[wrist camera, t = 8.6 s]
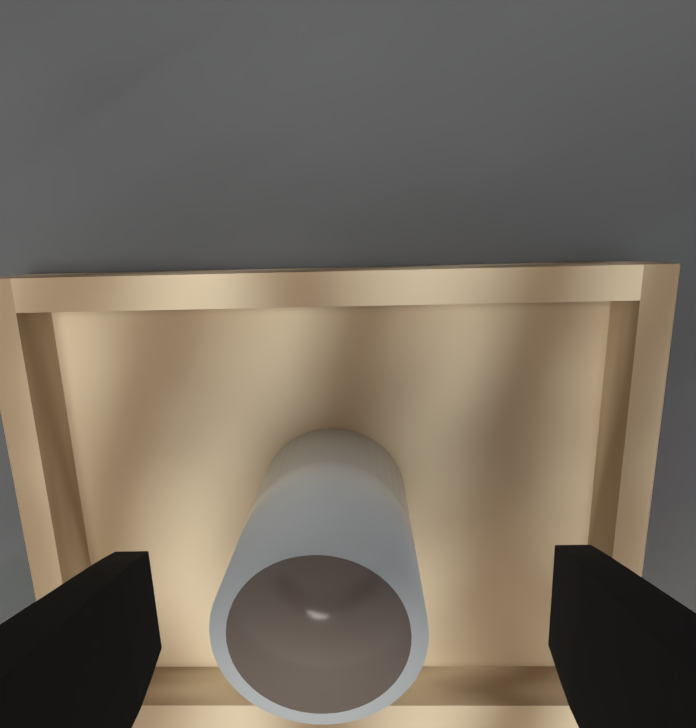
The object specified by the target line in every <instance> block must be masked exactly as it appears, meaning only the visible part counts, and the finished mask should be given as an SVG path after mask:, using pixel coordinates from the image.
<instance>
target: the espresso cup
mask: <svg viewBox="0 0 696 728" xmlns="http://www.w3.org/2000/svg"><path fill="white" fill-rule="evenodd" d="M209 635H210V643H211V647H212V651H213V654H214V657H215V659H216V662H217V664H218V666H219V668H220V670H221V671H222V673H223V675H224V676H225V677H226V679H227V680H228V681H229V683H230V684H231V685H232V686H233V687H234V688H235V689H236V690H237V691H238V692H239V693H240V694H241V695H242V696H243V697H244V698H246V699H247V700H248V701H250V702H251V703H252V704H254V705H256V706H257V707H259V708H261V709H262V710H264V711H266V712H269V713H271V714H273V715H275V716H278V717H281V718H284V719H287V720H291V721H295V722H299V723H307V724H321V725H329V724H340V723H346V722H351V721H355V720H359V719H362V718H365V717H368V716H370V715H372V714H375V713H377V712H379V711H381V710H382V709H384V708H386V707H387V706H389V705H391V704H392V703H393V702H394V701H396V700H397V699H398V698H400V697H401V696H402V695H403V694H404V693H405V692H406V691H407V690H408V689H409V687H410V686H411V685H412V683H413V682H414V681H415V679H416V678H417V676H418V674H419V672H420V671H421V669H422V667H423V664H424V661H425V658H426V655H427V650H428V645H429V627H428V619H427V613H426V607H425V601H424V596H423V590H422V584H421V578H420V572H419V567H418V561H417V555H416V549H415V544H414V538H413V532H412V526H411V521H410V515H409V509H408V503H407V497H406V492H405V486H404V481H403V478H402V474H401V472H400V470H399V467H398V466H397V464H396V462H395V461H394V459H393V458H392V457H391V456H390V454H389V453H388V452H387V451H386V450H385V449H384V448H383V447H382V446H380V445H379V444H378V443H376V442H375V441H374V440H372V439H370V438H368V437H366V436H364V435H361V434H359V433H356V432H352V431H348V430H342V429H323V430H317V431H313V432H309V433H306V434H304V435H301V436H299V437H297V438H295V439H294V440H292V441H291V442H289V443H288V444H286V445H285V446H284V447H283V448H282V449H281V450H280V451H279V452H278V453H277V454H276V456H275V457H274V458H273V460H272V461H271V463H270V465H269V467H268V469H267V472H266V474H265V476H264V479H263V481H262V484H261V486H260V489H259V491H258V494H257V496H256V499H255V501H254V504H253V506H252V509H251V511H250V514H249V516H248V518H247V521H246V523H245V526H244V528H243V531H242V533H241V536H240V538H239V541H238V543H237V546H236V548H235V551H234V553H233V555H232V558H231V560H230V563H229V565H228V568H227V570H226V573H225V575H224V578H223V580H222V583H221V585H220V588H219V590H218V593H217V595H216V598H215V600H214V602H213V605H212V609H211V614H210V621H209Z"/></svg>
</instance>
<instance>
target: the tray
mask: <svg viewBox="0 0 696 728" xmlns="http://www.w3.org/2000/svg"><path fill="white" fill-rule="evenodd" d="M679 272H680V264H676V263H661V262H645V261H602V262H556V263H511V264H466V265H420V266H375V267H330V268H285V269H239V270H194V271H149V272H104V273H58V274H26V275H15V276H5V277H0V410H1V416H2V421H3V426H4V432H5V437H6V442H7V448H8V453H9V458H10V464H11V469H12V474H13V480H14V485H15V490H16V496H17V501H18V506H19V512H20V517H21V522H22V528H23V533H24V538H25V544H26V549H27V554H28V560H29V565H30V570H31V576H32V581H33V586H34V592H35V597H36V601H37V600H39V599H40V598H42V597H44V596H45V595H47V594H48V593H50V592H51V591H53V590H54V589H56V588H57V587H59V586H60V585H62V584H63V583H65V582H66V581H68V580H69V579H71V578H72V577H74V576H76V575H77V574H79V573H80V572H82V571H83V570H85V569H86V568H88V567H90V566H91V565H93V564H94V563H96V562H98V561H99V560H101V559H103V558H104V557H106V556H108V555H110V554H112V553H114V552H122V551H148V552H149V559H150V566H151V574H152V581H153V588H154V595H155V602H156V610H157V617H158V624H159V631H160V638H161V646H162V649H161V652H160V655H159V658H158V661H157V664H156V667H155V670H154V673H153V676H152V679H151V682H150V685H149V687H148V690H147V693H146V696H145V698H144V701H143V704H142V706H141V709H140V711H139V713H138V716H137V718H136V720H135V722H134V724H133V726H132V728H579V727H578V725H577V723H576V720H575V718H574V716H573V714H572V712H571V709H570V707H569V704H568V702H567V699H566V696H565V693H564V690H563V688H562V685H561V682H560V679H559V676H558V673H557V670H556V667H555V664H554V661H553V658H552V655H551V652H550V649H549V646H548V640H549V625H550V610H551V596H552V581H553V566H554V551H555V545H592V546H594V547H595V548H597V549H599V550H600V551H602V552H604V553H605V554H607V555H609V556H610V557H612V558H613V559H615V560H616V561H618V562H619V563H621V564H622V565H624V566H625V567H627V568H628V569H630V570H631V571H633V572H634V573H636V574H637V575H639V576H640V577H642V570H643V562H644V554H645V546H646V538H647V530H648V522H649V514H650V506H651V498H652V490H653V482H654V474H655V466H656V458H657V450H658V441H659V433H660V425H661V417H662V409H663V401H664V393H665V385H666V377H667V369H668V361H669V353H670V345H671V337H672V329H673V321H674V313H675V305H676V296H677V288H678V280H679ZM323 429H342V430H348V431H352V432H356V433H359V434H361V435H364V436H366V437H368V438H370V439H372V440H374V441H375V442H376V443H378V444H379V445H380V446H382V447H383V448H384V449H385V450H386V451H387V452H388V453H389V454H390V456H391V457H392V458H393V459H394V461H395V462H396V464H397V466H398V467H399V470H400V472H401V474H402V478H403V481H404V486H405V492H406V497H407V503H408V509H409V515H410V521H411V526H412V532H413V538H414V544H415V549H416V555H417V561H418V567H419V572H420V578H421V584H422V590H423V596H424V601H425V607H426V613H427V619H428V627H429V645H428V650H427V655H426V658H425V661H424V664H423V667H422V669H421V671H420V672H419V674H418V676H417V678H416V679H415V681H414V682H413V683H412V685H411V686H410V687H409V689H408V690H407V691H406V692H405V693H404V694H403V695H402V696H401V697H400V698H398V699H397V700H396V701H394V702H393V703H392V704H391V705H389V706H387V707H386V708H384V709H382V710H381V711H379V712H377V713H375V714H372V715H370V716H368V717H365V718H362V719H359V720H355V721H351V722H346V723H340V724H329V725H321V724H307V723H299V722H295V721H291V720H287V719H284V718H281V717H278V716H275V715H273V714H271V713H269V712H266V711H264V710H262V709H261V708H259V707H257V706H256V705H254V704H252V703H251V702H250V701H248V700H247V699H246V698H244V697H243V696H242V695H241V694H240V693H239V692H238V691H237V690H236V689H235V688H234V687H233V686H232V685H231V684H230V683H229V681H228V680H227V679H226V677H225V676H224V675H223V673H222V671H221V670H220V668H219V666H218V664H217V662H216V659H215V657H214V654H213V651H212V647H211V643H210V635H209V621H210V614H211V609H212V605H213V602H214V600H215V598H216V595H217V593H218V590H219V588H220V585H221V583H222V580H223V578H224V575H225V573H226V570H227V568H228V565H229V563H230V560H231V558H232V555H233V553H234V551H235V548H236V546H237V543H238V541H239V538H240V536H241V533H242V531H243V528H244V526H245V523H246V521H247V518H248V516H249V514H250V511H251V509H252V506H253V504H254V501H255V499H256V496H257V494H258V491H259V489H260V486H261V484H262V481H263V479H264V476H265V474H266V472H267V469H268V467H269V465H270V463H271V461H272V460H273V458H274V457H275V456H276V454H277V453H278V452H279V451H280V450H281V449H282V448H283V447H284V446H285V445H286V444H288V443H289V442H291V441H292V440H294V439H295V438H297V437H299V436H301V435H304V434H306V433H309V432H313V431H317V430H323Z"/></svg>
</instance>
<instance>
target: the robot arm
mask: <svg viewBox="0 0 696 728" xmlns="http://www.w3.org/2000/svg"><path fill="white" fill-rule="evenodd" d="M548 646H549V649H550V652H551V655H552V658H553V661H554V664H555V667H556V670H557V673H558V676H559V679H560V682H561V685H562V688H563V690H564V693H565V696H566V699H567V702H568V704H569V707H570V709H571V712H572V714H573V716H574V718H575V720H576V723H577V725H578V727H579V728H696V613H694V612H693V611H691V610H690V609H688V608H687V607H685V606H684V605H682V604H681V603H679V602H678V601H676V600H675V599H673V598H672V597H670V596H669V595H667V594H666V593H664V592H663V591H661V590H660V589H658V588H657V587H655V586H654V585H652V584H651V583H649V582H648V581H646V580H645V579H643V578H642V577H640V576H639V575H637V574H636V573H634V572H633V571H631V570H630V569H628V568H627V567H625V566H624V565H622V564H621V563H619V562H618V561H616V560H615V559H613V558H612V557H610V556H609V555H607V554H605V553H604V552H602V551H600V550H599V549H597V548H595V547H594V546H592V545H555V551H554V566H553V581H552V596H551V610H550V625H549V640H548ZM161 649H162V646H161V638H160V631H159V624H158V617H157V610H156V602H155V595H154V588H153V581H152V574H151V566H150V559H149V552H148V551H122V552H114V553H112V554H110V555H108V556H106V557H104V558H103V559H101V560H99V561H98V562H96V563H94V564H93V565H91V566H90V567H88V568H86V569H85V570H83V571H82V572H80V573H79V574H77V575H76V576H74V577H72V578H71V579H69V580H68V581H66V582H65V583H63V584H62V585H60V586H59V587H57V588H56V589H54V590H53V591H51V592H50V593H48V594H47V595H45V596H44V597H42V598H40V599H39V600H37V601H36V602H34V603H33V604H31V605H30V606H28V607H27V608H25V609H24V610H22V611H21V612H19V613H17V614H16V615H14V616H13V617H11V618H10V619H8V620H7V621H5V622H4V623H2V624H1V625H0V728H132V726H133V724H134V722H135V720H136V718H137V716H138V713H139V711H140V709H141V706H142V704H143V701H144V698H145V696H146V693H147V690H148V687H149V685H150V682H151V679H152V676H153V673H154V670H155V667H156V664H157V661H158V658H159V655H160V652H161Z"/></svg>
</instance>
